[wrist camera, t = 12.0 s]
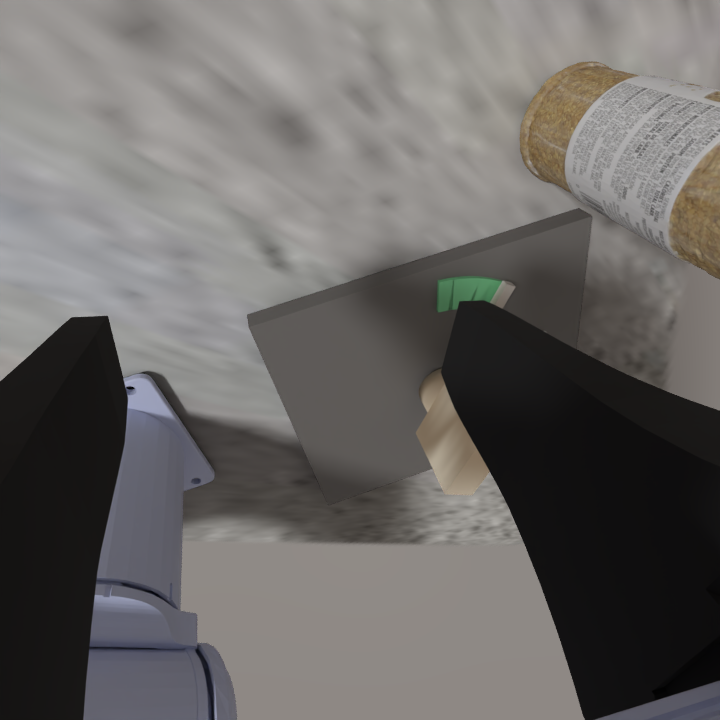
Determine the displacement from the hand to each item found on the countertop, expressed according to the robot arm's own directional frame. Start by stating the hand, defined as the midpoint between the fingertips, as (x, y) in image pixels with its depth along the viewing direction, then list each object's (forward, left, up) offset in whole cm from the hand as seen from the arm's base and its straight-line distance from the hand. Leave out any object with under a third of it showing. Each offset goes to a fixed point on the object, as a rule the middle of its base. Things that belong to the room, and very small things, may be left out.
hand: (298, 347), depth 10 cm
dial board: (+6, -12, -10) cm, 17 cm away
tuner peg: (+7, -11, -9) cm, 16 cm away
